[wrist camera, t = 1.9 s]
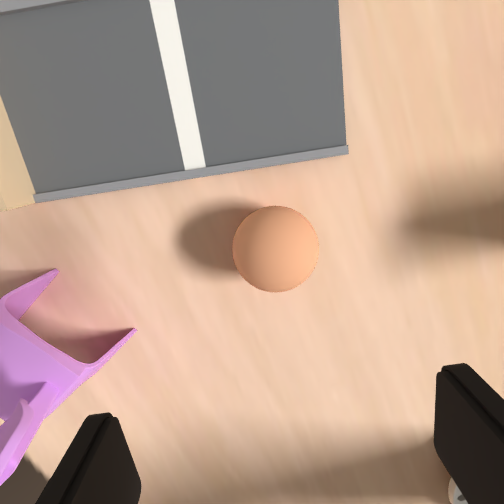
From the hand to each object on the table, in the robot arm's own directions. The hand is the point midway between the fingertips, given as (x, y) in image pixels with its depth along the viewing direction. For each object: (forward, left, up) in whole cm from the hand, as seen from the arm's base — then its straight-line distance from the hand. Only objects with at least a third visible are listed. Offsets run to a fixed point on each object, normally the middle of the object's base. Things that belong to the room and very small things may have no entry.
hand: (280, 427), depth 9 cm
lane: (+5, -12, -17) cm, 22 cm away
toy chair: (+17, +4, -17) cm, 24 cm away
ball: (-1, -1, -17) cm, 17 cm away
